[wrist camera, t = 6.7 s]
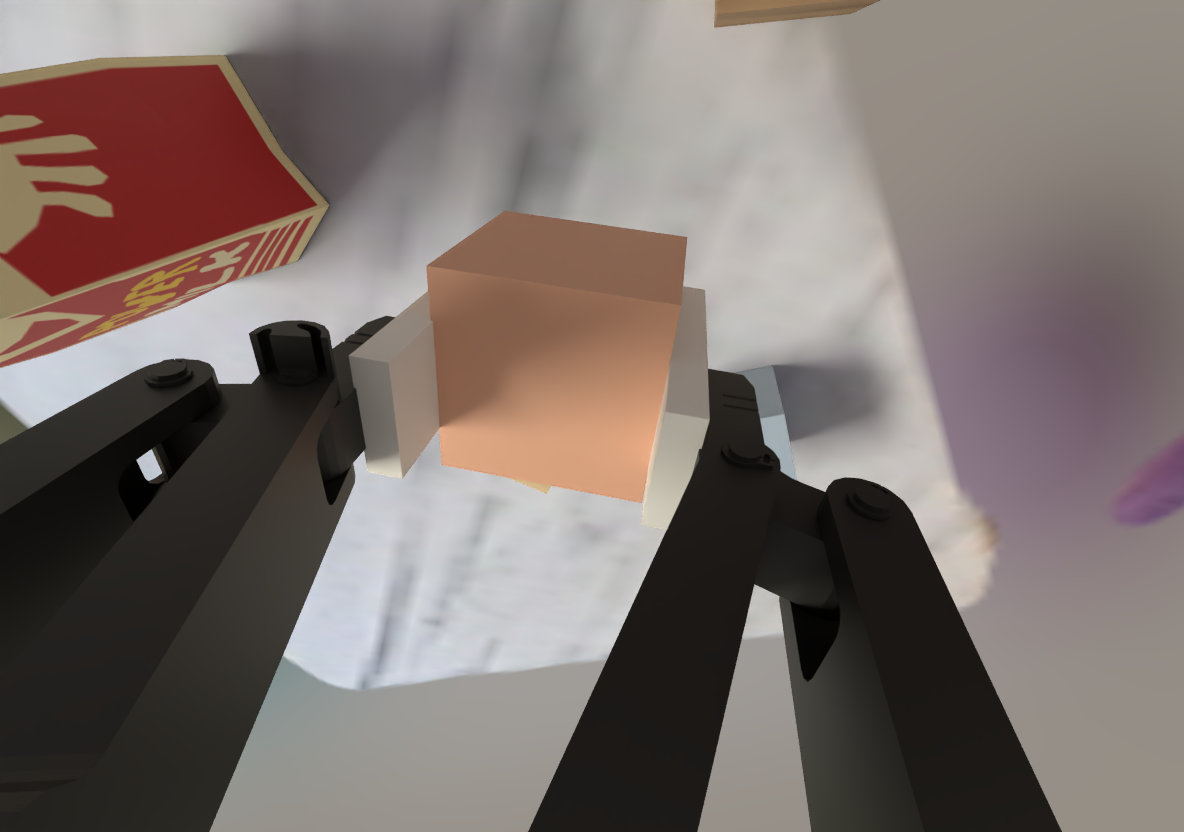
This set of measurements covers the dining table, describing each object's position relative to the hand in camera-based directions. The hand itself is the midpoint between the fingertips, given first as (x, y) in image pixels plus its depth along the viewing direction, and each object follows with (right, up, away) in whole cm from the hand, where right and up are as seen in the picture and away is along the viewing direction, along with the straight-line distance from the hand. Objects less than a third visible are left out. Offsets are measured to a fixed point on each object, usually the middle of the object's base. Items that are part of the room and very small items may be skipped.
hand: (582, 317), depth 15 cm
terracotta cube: (0, 0, 0) cm, 0 cm away
